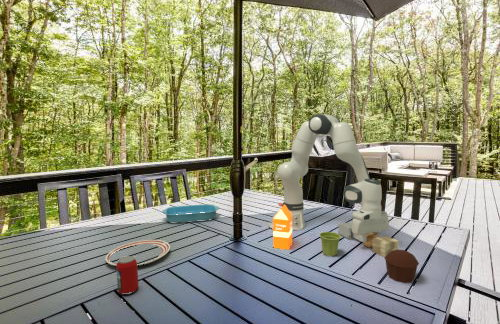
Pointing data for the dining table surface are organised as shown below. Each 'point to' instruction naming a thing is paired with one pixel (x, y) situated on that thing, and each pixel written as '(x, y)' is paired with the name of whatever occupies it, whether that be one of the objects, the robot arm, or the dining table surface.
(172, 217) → the casserole dish
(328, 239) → the plant pot
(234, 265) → the dining table surface
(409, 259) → the muffin
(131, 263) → the beverage can
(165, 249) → the beige round ring
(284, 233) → the orange juice
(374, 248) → the socket block
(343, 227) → the outer sleeve
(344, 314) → the dining table surface
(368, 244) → the tube
